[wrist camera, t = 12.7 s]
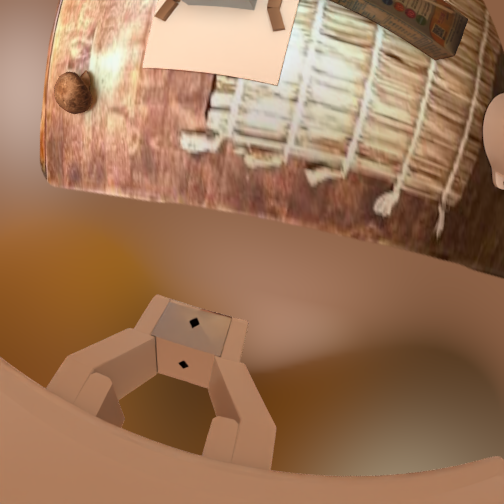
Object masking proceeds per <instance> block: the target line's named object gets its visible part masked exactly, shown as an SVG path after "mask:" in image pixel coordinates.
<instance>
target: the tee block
mask: <svg viewBox="0 0 504 504" xmlns="http://www.w3.org/2000/svg"><path fill="white" fill-rule="evenodd" d="M182 1H183V2H185V3H186V4H187V5H200V6H218V7H230V8H240V9H248V10H254V9H255V6H256V2H257V0H182Z"/></svg>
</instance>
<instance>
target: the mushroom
mask: <svg viewBox="0 0 504 504" xmlns="http://www.w3.org/2000/svg"><path fill="white" fill-rule="evenodd" d="M89 88H90V77H89V74H88V72H87V71H85V72H84V73H83V74H82V75H81V76H80V77H79V76H78V75H77V74H76V73H73V72H66V73H64V74H62V75H61V76H60V77H59V78H58V80H57V82H56V85H55V88H54V94H55V99H56V102H57V103H58V104H59V106H60V107H62V108H63V109H64V110H66V111H67V112H69V113H72V114H78V113H83V112H85V111H86V110H88V108H89V107H90V105H91V104H92V96H91V93H90V91H89Z"/></svg>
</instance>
